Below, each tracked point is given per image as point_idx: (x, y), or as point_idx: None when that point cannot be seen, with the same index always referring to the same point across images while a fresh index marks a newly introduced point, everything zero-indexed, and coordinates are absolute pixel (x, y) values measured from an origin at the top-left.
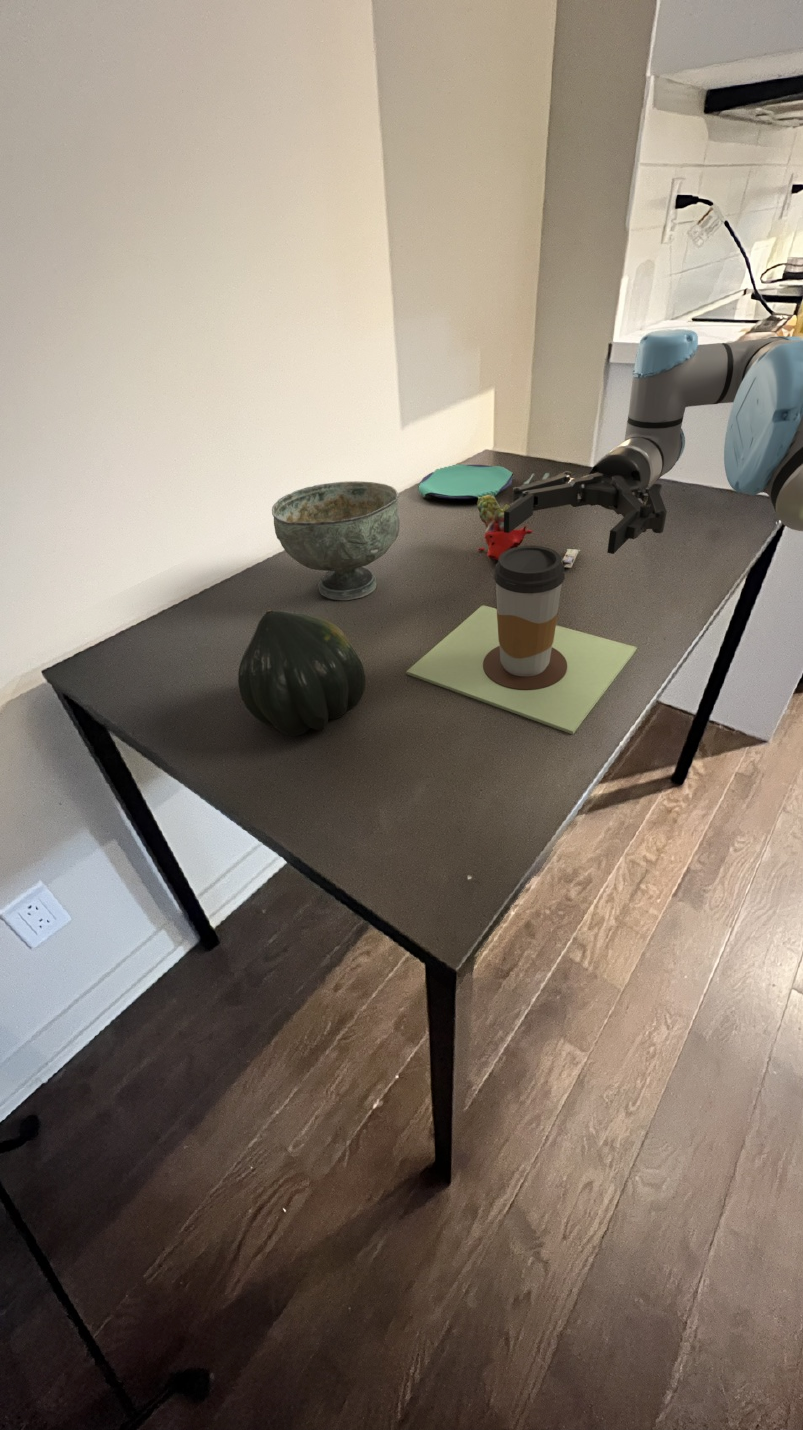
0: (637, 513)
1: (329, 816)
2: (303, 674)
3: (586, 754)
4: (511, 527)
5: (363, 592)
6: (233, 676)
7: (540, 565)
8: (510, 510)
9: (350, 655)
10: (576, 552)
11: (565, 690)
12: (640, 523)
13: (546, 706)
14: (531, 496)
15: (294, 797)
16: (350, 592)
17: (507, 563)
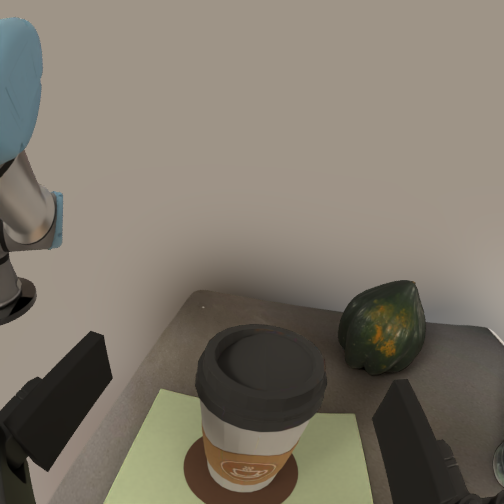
0: (4, 446)
1: (288, 316)
2: (358, 294)
3: (148, 375)
4: (379, 422)
5: (496, 465)
6: (439, 359)
7: (242, 361)
8: (400, 388)
9: (360, 320)
10: None
11: (177, 437)
12: (18, 393)
13: (192, 412)
14: (435, 487)
15: (314, 319)
16: (500, 452)
17: (297, 347)
